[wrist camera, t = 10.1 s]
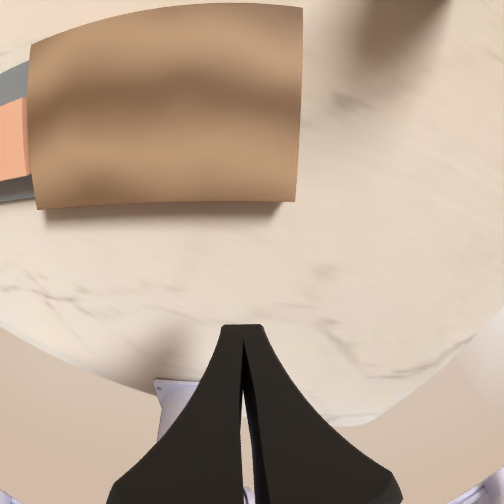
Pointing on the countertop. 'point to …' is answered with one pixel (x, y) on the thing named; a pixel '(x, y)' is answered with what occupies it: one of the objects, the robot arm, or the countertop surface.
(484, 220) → the countertop surface
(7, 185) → the mat
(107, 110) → the board
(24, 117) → the tile
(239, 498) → the robot arm
